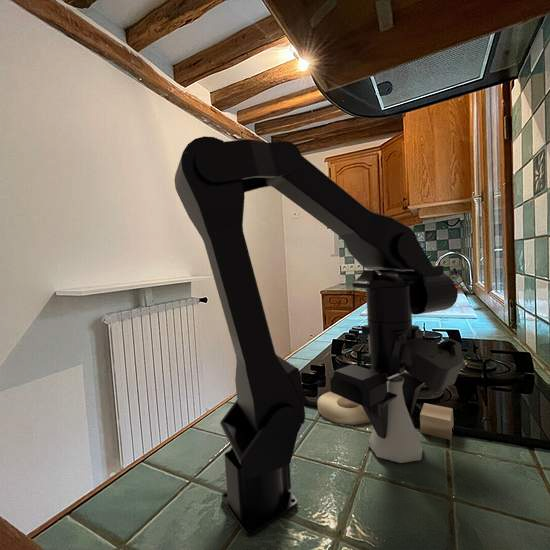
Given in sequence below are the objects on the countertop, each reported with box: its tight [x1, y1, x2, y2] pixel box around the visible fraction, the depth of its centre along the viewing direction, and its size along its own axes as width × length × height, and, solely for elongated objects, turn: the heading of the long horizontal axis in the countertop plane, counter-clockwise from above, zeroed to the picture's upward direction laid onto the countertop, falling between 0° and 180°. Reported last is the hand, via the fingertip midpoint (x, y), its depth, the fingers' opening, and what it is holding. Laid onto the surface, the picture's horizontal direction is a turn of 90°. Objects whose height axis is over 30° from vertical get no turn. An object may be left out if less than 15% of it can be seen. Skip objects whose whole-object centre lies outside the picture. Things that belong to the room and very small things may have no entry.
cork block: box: [419, 402, 454, 441], centre depth 46 cm, size 4×4×3 cm
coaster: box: [317, 391, 371, 426], centre depth 54 cm, size 11×11×1 cm
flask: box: [367, 375, 424, 464], centre depth 42 cm, size 7×7×10 cm
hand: (394, 429), depth 42 cm, fingers closed on flask, 5 cm apart
